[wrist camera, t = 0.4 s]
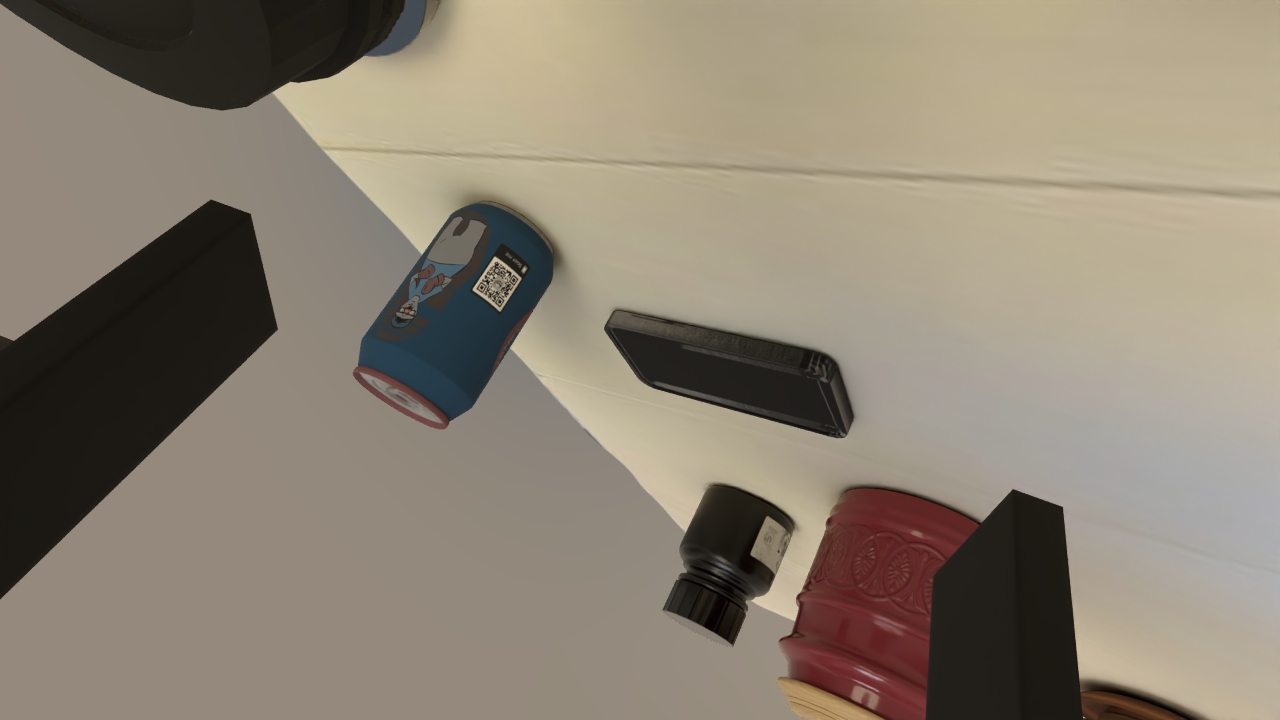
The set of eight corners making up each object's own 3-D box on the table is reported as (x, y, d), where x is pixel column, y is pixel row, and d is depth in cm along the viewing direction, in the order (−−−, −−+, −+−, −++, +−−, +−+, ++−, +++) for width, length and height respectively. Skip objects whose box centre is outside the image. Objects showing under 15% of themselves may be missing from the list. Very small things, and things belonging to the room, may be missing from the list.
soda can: (528, 277, 50) (428, 433, 46) (444, 207, 47) (327, 367, 43) (584, 261, 44) (475, 438, 40) (492, 180, 41) (363, 362, 37)
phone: (849, 442, 46) (642, 386, 54) (856, 425, 46) (650, 372, 54) (826, 372, 40) (597, 321, 48) (834, 354, 40) (605, 306, 48)
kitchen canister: (917, 564, 63) (842, 782, 57) (803, 484, 59) (710, 708, 53) (1062, 579, 52) (990, 855, 45) (932, 481, 48) (833, 766, 41)
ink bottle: (788, 539, 75) (739, 656, 70) (705, 500, 77) (653, 612, 72) (803, 515, 66) (749, 647, 61) (710, 471, 68) (650, 597, 63)
